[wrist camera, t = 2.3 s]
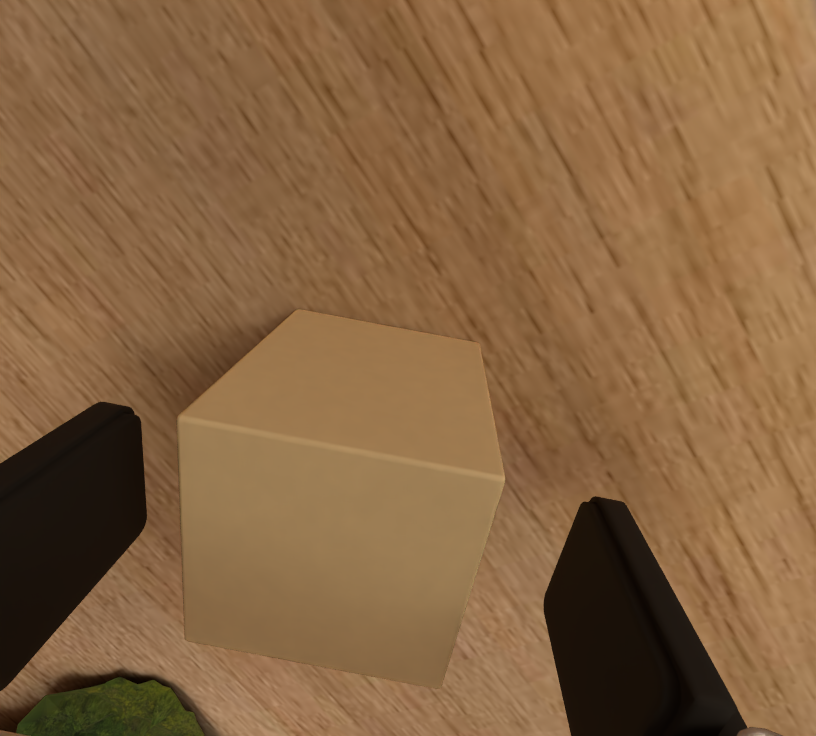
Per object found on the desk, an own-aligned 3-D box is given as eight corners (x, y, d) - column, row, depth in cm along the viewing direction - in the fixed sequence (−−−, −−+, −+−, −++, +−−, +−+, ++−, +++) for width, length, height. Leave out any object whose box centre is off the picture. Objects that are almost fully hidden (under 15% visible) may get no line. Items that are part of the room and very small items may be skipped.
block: (296, 307, 12) (173, 416, 7) (480, 341, 12) (507, 479, 7) (284, 461, 14) (182, 642, 9) (443, 491, 14) (440, 691, 9)
